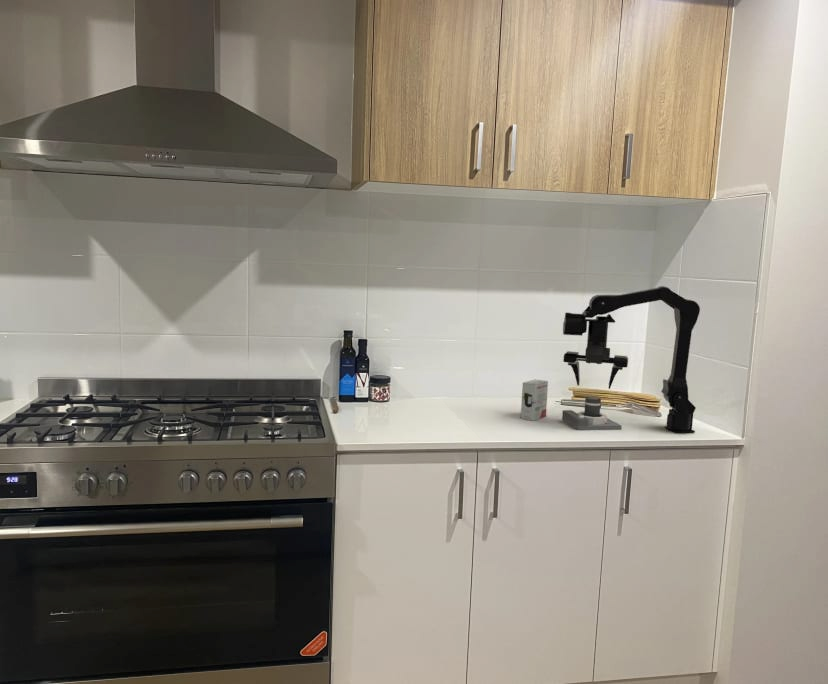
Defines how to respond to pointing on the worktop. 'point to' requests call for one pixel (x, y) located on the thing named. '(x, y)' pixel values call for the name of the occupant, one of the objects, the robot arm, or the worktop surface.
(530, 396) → the ink box
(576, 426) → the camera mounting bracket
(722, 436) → the worktop surface
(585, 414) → the lens
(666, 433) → the worktop surface
